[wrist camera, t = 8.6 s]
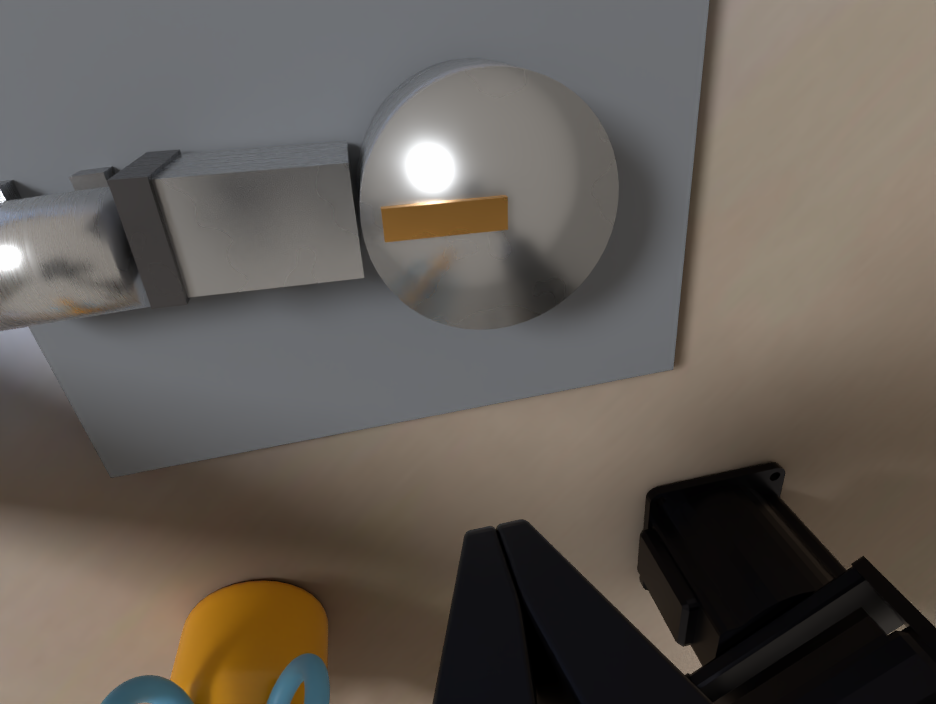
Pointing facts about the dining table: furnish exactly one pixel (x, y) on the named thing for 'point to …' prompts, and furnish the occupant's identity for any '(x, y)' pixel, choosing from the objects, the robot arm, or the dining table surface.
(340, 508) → the dining table surface
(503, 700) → the robot arm
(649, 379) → the dining table surface
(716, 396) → the dining table surface
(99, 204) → the duct stub
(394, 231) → the dial knob with block
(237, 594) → the cylinder
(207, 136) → the mat
